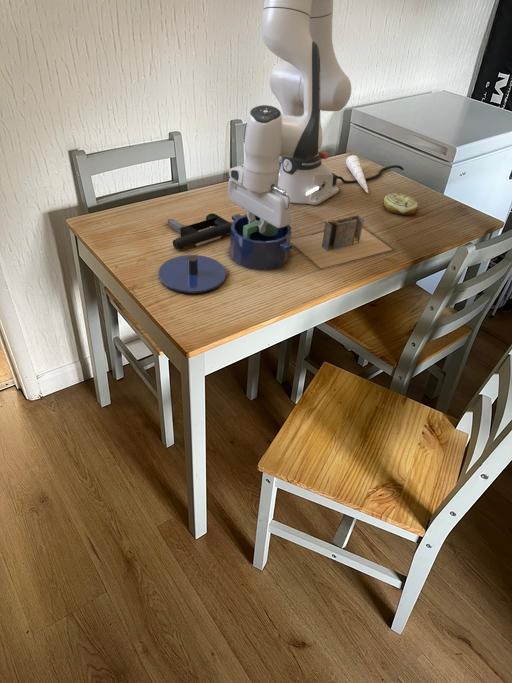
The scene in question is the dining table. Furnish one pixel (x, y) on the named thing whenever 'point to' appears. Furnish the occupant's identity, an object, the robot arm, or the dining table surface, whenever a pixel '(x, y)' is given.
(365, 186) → the unicorn horn
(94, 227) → the dining table surface
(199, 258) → the lid
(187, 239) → the door handle
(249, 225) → the scoop
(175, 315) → the dining table surface
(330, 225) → the ruin model on sheet
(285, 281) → the dining table surface
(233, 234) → the pot
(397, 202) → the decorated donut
